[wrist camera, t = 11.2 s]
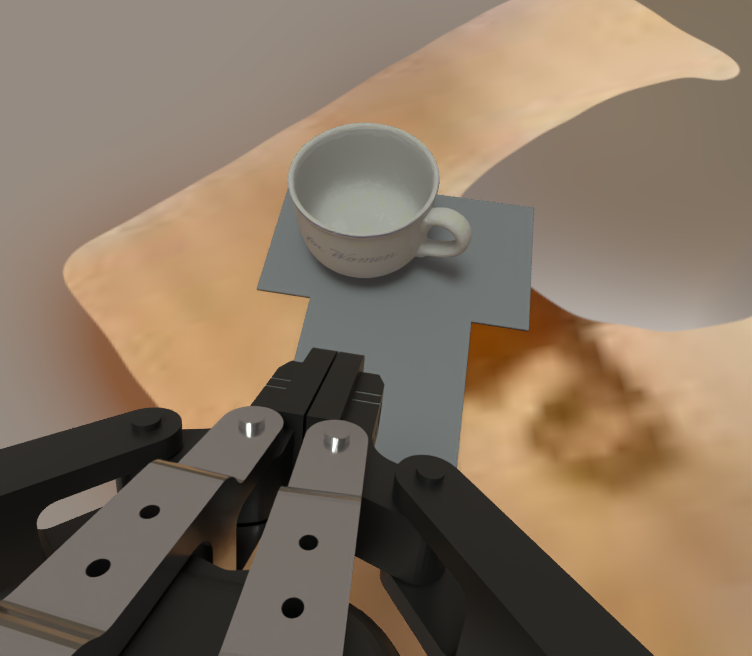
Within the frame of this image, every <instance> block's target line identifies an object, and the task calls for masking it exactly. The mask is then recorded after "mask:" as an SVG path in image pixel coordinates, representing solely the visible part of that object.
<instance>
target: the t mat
mask: <svg viewBox="0 0 752 656" xmlns="http://www.w3.org/2000/svg"><path fill="white" fill-rule="evenodd" d="M434 208H450V209H453V210H455V211H457V212H459V213H460V214H461V215H463V216H464V217H465V218H466V220H467V221H468V222H469V224H470V226H471V230H472V238H471V241H470V243H469V245H468V247H467V249H466V250H465V251H464V252H463V253H462V254H460V255H458V256H455V257H448V258H442V257H432V256H425V257H421V258H420V257H414V258H413V259H412V260H411V261H410V262H408V263H407V264H406V265H405V266H403V267H402V268H400V269H399V270H396V271H394V272H392V273H390V274H387V275H384V276H379V277H374V278H356V277H350V276H346V275H342V274H340V273H337V272H335V271H333V270H331V269H329V268H328V267H326V266H324V265H323V264H322V263H321V262H319V261H318V260H317V259H316V258H315V256H314V255H313V254H312V253H311V252H310V250H309V248H308V247H307V245H306V243H305V241H304V239H303V237H302V234H301V231H300V228H299V224H298V220H297V217H296V212H295V208H294V203H293V201H292V199H291V196H290V193H289V188H288V190H287V193H286V197H285V200H284V203H283V206H282V209H281V213H280V216H279V219H278V222H277V225H276V229H275V232H274V235H273V238H272V241H271V245H270V248H269V251H268V254H267V257H266V261H265V264H264V267H263V270H262V273H261V277H260V280H259V283H258V286H257V290H262V291H268V292H275V293H281V294H288V295H294V296H301V297H307V298H310V301H309V305H308V308H307V312H306V316H305V320H304V324H303V328H302V332H301V336H300V340H299V343H298V347H297V351H296V355H295V359H294V361H297V362H303V361H304V360H305V358H306V356H307V355H308V353H309V352H310V350H311V349H312V348H313V347H315V348H321V349H327V350H334V351H338V353H339V351H340V352H347V353H353V354H359V355H364V356H365V362H364V371H363V372H366V373H372V374H378V375H380V377H381V379H382V381H383V382H384V384H385V385H384V393H383V400H382V408H381V415H380V423H379V430H378V434H377V439H376V443H375V449H376V450H377V451H378V452H379V453H380V454H381V455H382V456H384V457H385V458H387V459H389V460H391V461H393V462H395V463H397V464H399V462H400V461H402V460H403V459H405V458H407V457H409V456H413V455H431V456H435V457H439V458H441V459H444V460H446V461H448V462H449V463H451V464H452V465H453V466H455V467H456V468H457V460H458V450H459V439H460V429H461V419H462V409H463V399H464V389H465V379H466V369H467V358H468V348H469V338H470V328H471V323H478V324H484V325H491V326H498V327H504V328H511V329H517V330H524V331H528V330H529V312H530V289H531V265H532V243H533V242H532V241H533V220H534V208H533V207H526V206H518V205H511V204H503V203H496V202H488V201H480V200H473V199H466V198H459V197H451V196H444V195H436V198H435V201H434ZM427 238H429V239H433V240H441V241H451V240H456V239H455V237H454V235H453V234H452V233H451V232H450V231H449V230H447V229H445V228H443V227H440V226H432V227H431V229H430V230H429V231H428V234H427Z"/></svg>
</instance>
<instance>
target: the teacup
mask: <svg viewBox="0 0 752 656" xmlns="http://www.w3.org/2000/svg"><path fill="white" fill-rule="evenodd" d="M439 180H440V177H439V169H438V166H437V163H436V160H435V158H434V156H433V155H432V153H431V152H430V151H429V149H428V148H427V147H426V146H425V145H424V144H423V143H422V142H420V141H419V140H418V139H417V138H415V137H414V136H413V135H411V134H409V133H407V132H405V131H403V130H400V129H398V128H395V127H392V126H387V125H383V124H375V123H353V124H347V125H342V126H338V127H335V128H332V129H330V130H327V131H325V132H323V133H321V134H319V135H317V136H315V137H314V138H313V139H312V140H310V141H309V142H307V143H306V144H305V145H303V146H302V148H301V149H300V151H299V152H298V153H297V154H296V156H295V157H294V159H293V161H292V163H291V166H290V168H289V173H288V188H289V193H290V196H291V199H292V201H293V203H294V208H295V212H296V217H297V220H298V224H299V228H300V231H301V234H302V237H303V239H304V241H305V243H306V245H307V247H308V248H309V250H310V252H311V253H312V254H313V255H314V256H315V258H316V259H317V260H318V261H319V262H321V263H322V264H323V265H324V266H326V267H328V268H329V269H331V270H333V271H335V272H337V273H340V274H342V275H346V276H350V277H356V278H374V277H379V276H384V275H387V274H390V273H392V272H394V271H396V270H399V269H400V268H402V267H403V266H405V265H406V264H407V263H408V262H410V261H411V260H412V259H413V258H414V257H420V258H421V257H425V256H432V257H442V258H448V257H455V256H458V255H460V254H462V253H463V252H464V251H465V250H466V249H467V247H468V245H469V243H470V241H471V238H472V230H471V226H470V224H469V222H468V221H467V220H466V218H465V217H464V216H463V215H461V214H460V213H459V212H457V211H455V210H453V209H450V208H434V201H435V198H436V195H437V192H438V188H439ZM432 226H440V227H443V228H445V229H447V230H449V231H450V232H451V233H452V234H453V235H454V237H455V239H456V240H451V241H441V240H433V239H429V238H427V234H428V231H429V230H430V229H431V227H432Z"/></svg>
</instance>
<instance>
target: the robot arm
mask: <svg viewBox="0 0 752 656" xmlns="http://www.w3.org/2000/svg"><path fill="white" fill-rule="evenodd" d="M364 362H365V356H364V355H359V354H353V353H347V352H340V351H339V353H338V351H334V350H327V349H321V348H315V347H313V348H312V349H311V350H310V352H309V353H308V355H307V356H306V358H305V360H304V361H303V362H297V361H290V362H288V363H286V364H285V365H283V366H281V367H279V368H278V369H277V371H276V372H275V373H274V375H273V376H272V378H271V379H270V380H269V381H268V383H267V384H266V386H265V387H264V388H263V389H262V391H261V392H260V394H259V395H258V396H257V398H256V399H255V400H254V402H253V403H252V404H251V406H247V407H241V408H237V409H234V410H232V411H230V412H228V413H227V414H225V415H224V416H223V417H222V418H221V419H220V420H219V421H218V422H217V423H216V424H215V425H214V426H213V427H212V428H209V429H182V420H181V417H180V416H179V415H178V414H177V413H176V412H174V411H172V410H169V409H165V408H144V409H138V410H134V411H131V412H128V413H124V414H121V415H117V416H114V417H110V418H107V419H103V420H100V421H96V422H93V423H90V424H86V425H83V426H79V427H76V428H72V429H69V430H65V431H62V432H58V433H55V434H52V435H49V436H45V437H42V438H38V439H34V440H31V441H27V442H24V443H21V444H17V445H14V446H10V447H7V448H3V449H0V656H400V655H399V653H398V651H397V650H396V648H395V646H394V645H393V644H392V642H391V641H390V639H389V638H388V637H387V635H386V634H385V633H384V632H383V631H382V630H381V628H380V627H379V626H378V625H377V624H376V623H375V622H374V621H373V620H372V619H371V618H370V617H368V616H367V615H366V614H365V613H364V612H362V611H361V610H359V609H358V608H356V607H355V606H353V605H352V604H350V603H349V597H350V589H351V581H352V573H353V564H354V556H356V557H358V558H360V559H362V560H364V561H366V562H368V563H369V564H371V565H373V566H375V567H377V568H379V569H380V579H381V582H382V584H383V586H384V588H385V590H386V591H387V593H388V594H389V596H390V597H391V599H392V601H393V602H394V604H395V605H396V607H397V608H398V610H399V611H400V613H401V615H402V616H403V618H404V619H405V621H406V622H407V624H408V625H409V627H410V629H411V630H412V632H413V633H414V635H415V636H416V638H417V639H418V641H419V643H420V644H421V646H422V647H423V649H424V650H425V652H426V653H427V655H428V656H654V655H653V654H652V653H651V652H650V651H649V650H647V649H646V648H645V647H644V646H643V645H642V644H641V643H640V642H639V641H638V640H637V639H636V638H635V637H634V636H633V635H632V634H631V633H630V632H629V631H627V630H626V629H625V628H624V627H623V626H622V625H621V624H620V623H619V622H618V621H617V620H616V619H615V618H614V617H613V616H612V615H611V614H610V613H609V612H607V611H606V610H605V609H604V608H603V607H602V606H601V605H600V604H599V603H598V602H597V601H596V600H595V599H594V598H593V597H592V596H591V595H590V594H589V593H587V592H586V591H585V590H584V589H583V588H582V587H581V586H580V585H579V584H578V583H577V582H576V581H575V580H574V579H573V578H572V577H571V576H570V575H569V574H567V573H566V572H565V571H564V570H563V569H562V568H561V567H560V566H559V565H558V564H557V563H556V562H555V561H554V560H553V559H552V558H551V557H550V556H549V555H547V554H546V553H545V552H544V551H543V550H542V549H541V548H540V547H539V546H538V545H537V544H536V543H535V542H534V541H533V540H532V539H531V538H530V537H529V536H527V535H526V534H525V533H524V532H523V531H522V530H521V529H520V528H519V527H518V526H517V525H516V524H515V523H514V522H513V521H512V520H511V519H510V518H509V517H507V516H506V515H505V514H504V513H503V512H502V511H501V510H500V509H499V508H498V507H497V506H496V505H495V504H494V503H493V502H492V501H491V500H490V499H489V498H487V497H486V496H485V495H484V494H483V493H482V492H481V491H480V490H479V489H478V488H477V487H476V486H475V485H474V484H473V483H472V482H471V481H470V480H469V479H467V478H466V477H465V476H464V475H463V474H462V473H461V472H460V471H459V470H458V469H457V468H456V467H455V466H453V465H452V464H451V463H449V462H448V461H446V460H444V459H441V458H439V457H435V456H431V455H413V456H409V457H407V458H405V459H403V460H402V461H400V462H399V464H397V463H395V462H393V461H391V460H389V459H387V458H385V457H384V456H382V455H381V454H380V453H379V452H378V451H377V450H376V449H375V443H376V439H377V434H378V430H379V423H380V415H381V408H382V400H383V393H384V385H385V384H384V382H383V381H382V379H381V377H380V375H378V374H372V373H366V372H363V371H364ZM114 479H116V487H117V494H116V495H115V496H114V497H113V498H112V499H111V500H110V501H109V502H108V503H107V504H105V505H104V506H103V507H101V508H98V509H96V510H94V511H91V512H89V513H86V514H84V515H81V516H79V517H76V518H74V519H71V520H69V521H67V522H64V523H61V524H59V525H56V526H54V527H51V528H48V529H42V530H40V529H37V519H38V516H39V515H40V513H41V512H42V510H44V509H45V508H46V507H47V506H49V505H50V504H52V503H53V502H56V501H58V500H60V499H63V498H66V497H69V496H71V495H74V494H77V493H80V492H82V491H85V490H87V489H90V488H93V487H95V486H98V485H101V484H103V483H106V482H109V481H112V480H114Z"/></svg>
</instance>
